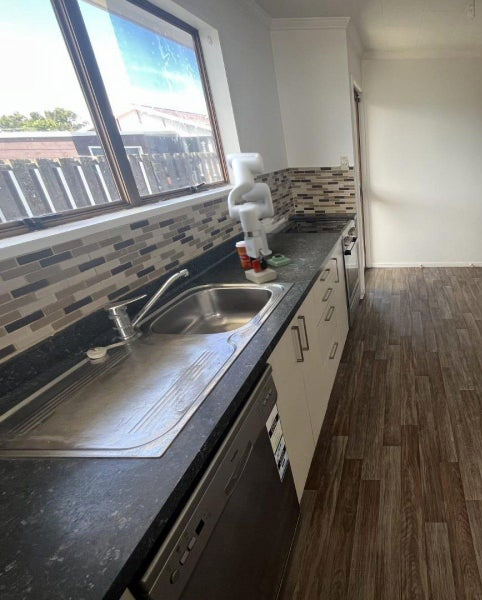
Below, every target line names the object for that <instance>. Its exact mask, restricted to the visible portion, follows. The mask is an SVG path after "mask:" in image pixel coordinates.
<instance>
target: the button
mask: <svg viewBox="0 0 482 600" xmlns="http://www.w3.org/2000/svg"><path fill="white" fill-rule="evenodd" d="M281 255H282V253H275V254H274V256H275V258H280V257H282V256H281Z"/></svg>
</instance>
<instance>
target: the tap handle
mask: <svg viewBox="0 0 482 600" xmlns="http://www.w3.org/2000/svg"><path fill="white" fill-rule="evenodd" d="M262 258H263V257H262ZM262 258H261V259H262ZM256 259H257V260H253V261H252V264H253V267H252V269H254V272H255V273H257V272H260V271H264V270H261V267H260V261H259V259H258V258H256ZM265 270H266V269H265Z"/></svg>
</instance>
